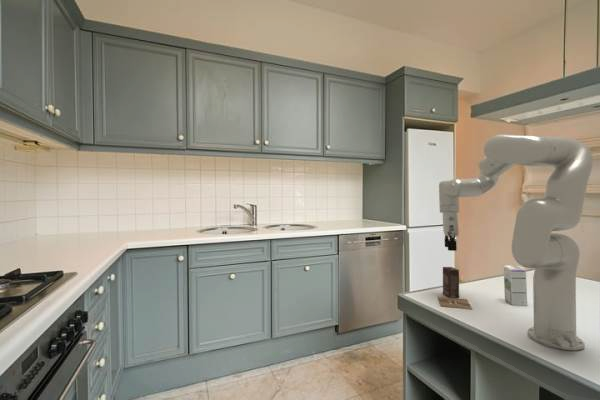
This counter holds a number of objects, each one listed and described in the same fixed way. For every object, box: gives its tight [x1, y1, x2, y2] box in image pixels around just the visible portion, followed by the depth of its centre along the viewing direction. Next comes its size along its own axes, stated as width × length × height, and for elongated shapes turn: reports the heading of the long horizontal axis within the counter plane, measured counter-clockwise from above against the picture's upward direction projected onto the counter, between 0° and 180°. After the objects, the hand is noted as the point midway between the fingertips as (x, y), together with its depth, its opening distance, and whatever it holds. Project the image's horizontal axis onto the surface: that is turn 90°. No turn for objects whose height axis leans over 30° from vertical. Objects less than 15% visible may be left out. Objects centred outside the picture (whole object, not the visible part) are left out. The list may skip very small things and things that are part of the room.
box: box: [442, 266, 460, 299], centre depth 126 cm, size 6×4×12 cm
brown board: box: [437, 296, 473, 310], centre depth 117 cm, size 11×11×1 cm
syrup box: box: [503, 264, 528, 306], centre depth 116 cm, size 6×6×14 cm
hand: (450, 248), depth 125 cm, fingers open, 9 cm apart
